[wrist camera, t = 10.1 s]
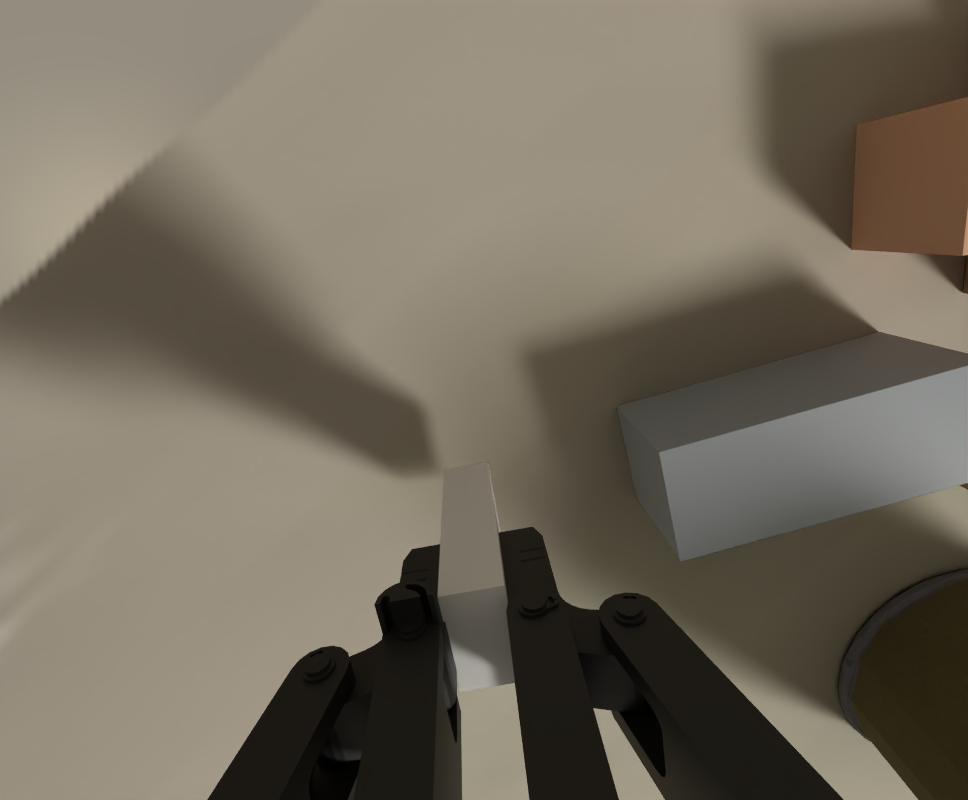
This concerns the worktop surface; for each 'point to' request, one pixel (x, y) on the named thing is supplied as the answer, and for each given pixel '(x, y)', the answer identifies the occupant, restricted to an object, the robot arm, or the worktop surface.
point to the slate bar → (798, 441)
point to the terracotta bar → (913, 182)
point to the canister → (915, 686)
